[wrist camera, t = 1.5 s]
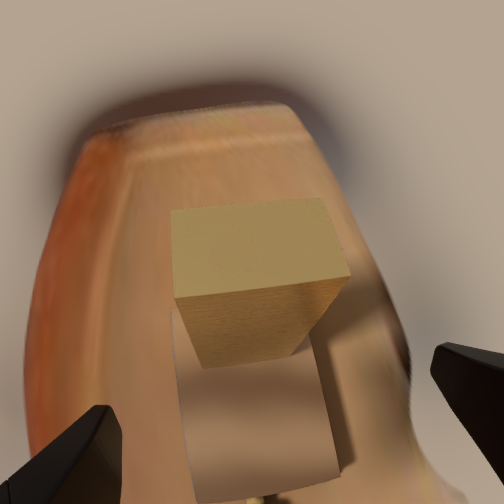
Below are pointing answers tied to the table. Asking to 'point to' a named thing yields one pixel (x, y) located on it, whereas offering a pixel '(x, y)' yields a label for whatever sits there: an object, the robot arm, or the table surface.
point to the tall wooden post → (254, 277)
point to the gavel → (255, 500)
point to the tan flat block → (252, 423)
